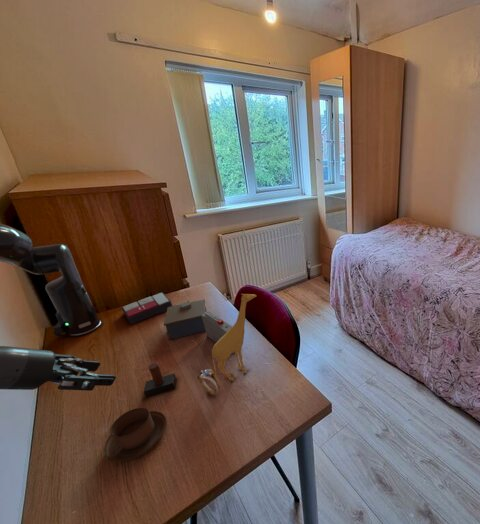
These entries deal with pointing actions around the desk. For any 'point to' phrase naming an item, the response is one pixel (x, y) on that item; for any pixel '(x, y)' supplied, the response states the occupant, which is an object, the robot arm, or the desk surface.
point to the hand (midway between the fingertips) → (105, 373)
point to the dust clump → (185, 305)
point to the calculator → (146, 307)
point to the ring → (205, 375)
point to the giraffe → (232, 340)
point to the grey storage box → (185, 319)
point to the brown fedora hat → (134, 434)
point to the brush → (159, 382)
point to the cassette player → (215, 326)
